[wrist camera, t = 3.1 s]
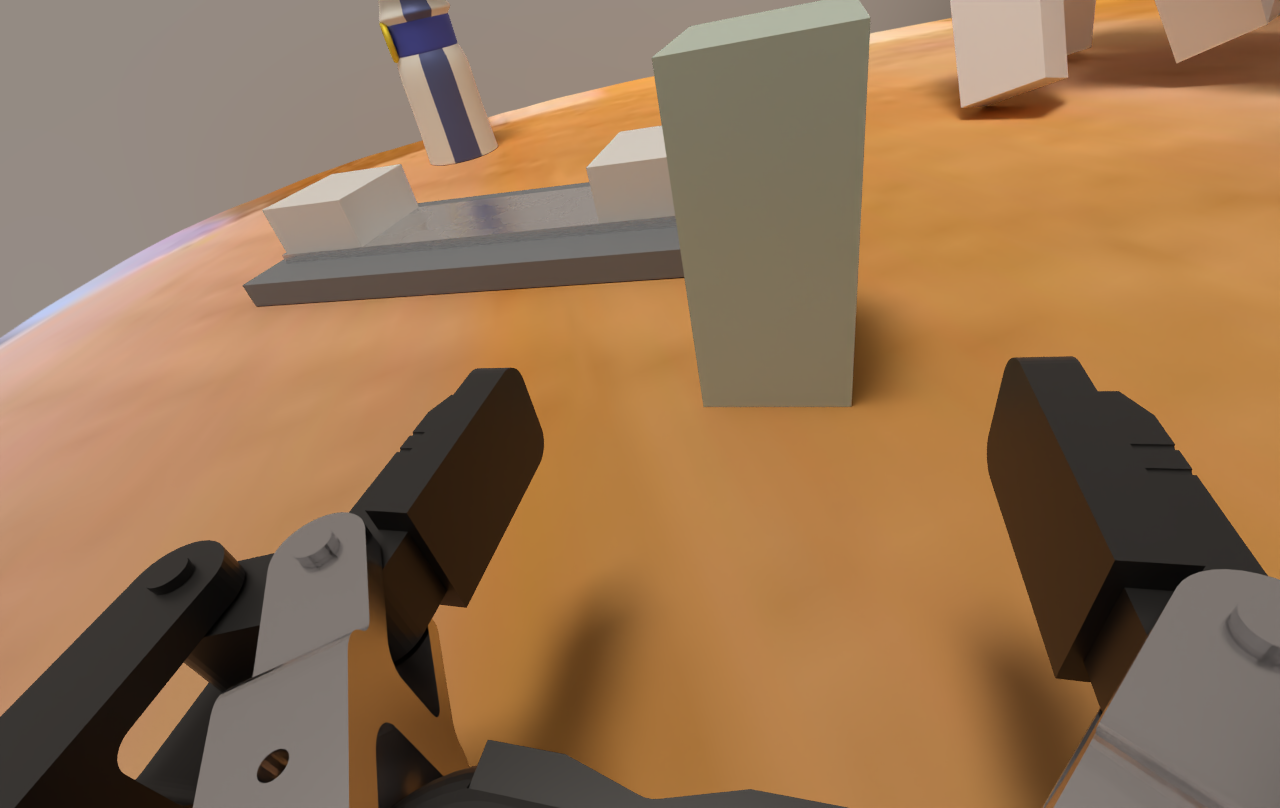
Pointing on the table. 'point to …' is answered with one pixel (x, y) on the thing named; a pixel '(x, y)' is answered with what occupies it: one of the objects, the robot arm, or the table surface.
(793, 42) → the tall block
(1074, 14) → the white angular blocks
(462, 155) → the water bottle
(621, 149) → the rectangular blocks
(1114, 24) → the table surface
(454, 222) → the mounting plate
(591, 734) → the table surface
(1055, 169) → the table surface
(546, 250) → the grey board
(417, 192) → the table surface
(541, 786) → the robot arm
